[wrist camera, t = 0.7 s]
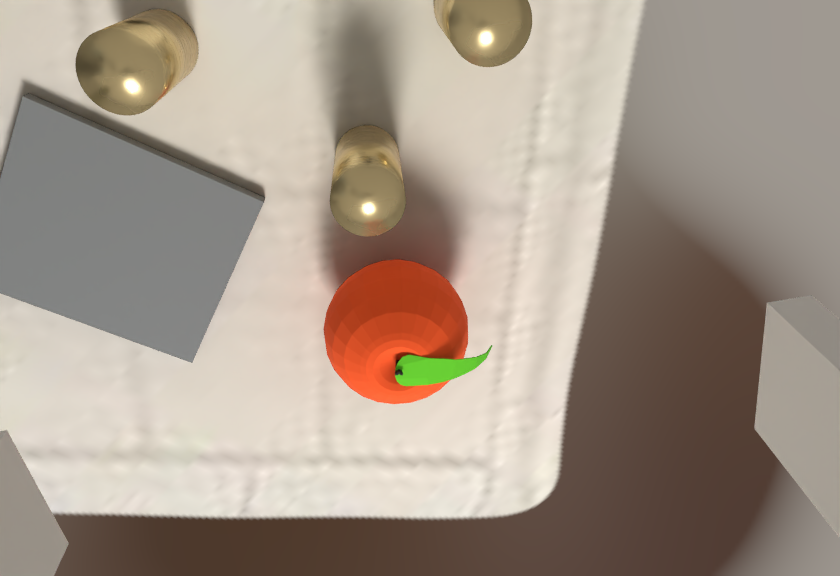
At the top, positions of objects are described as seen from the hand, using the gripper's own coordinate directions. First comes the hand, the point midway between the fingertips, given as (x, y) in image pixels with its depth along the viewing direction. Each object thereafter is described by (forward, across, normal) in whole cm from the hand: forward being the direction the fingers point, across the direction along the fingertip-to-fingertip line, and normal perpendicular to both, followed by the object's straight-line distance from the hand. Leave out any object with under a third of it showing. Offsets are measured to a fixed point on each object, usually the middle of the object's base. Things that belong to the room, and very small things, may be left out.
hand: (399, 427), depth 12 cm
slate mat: (+23, -13, -4) cm, 26 cm away
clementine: (+23, 0, -10) cm, 25 cm away
